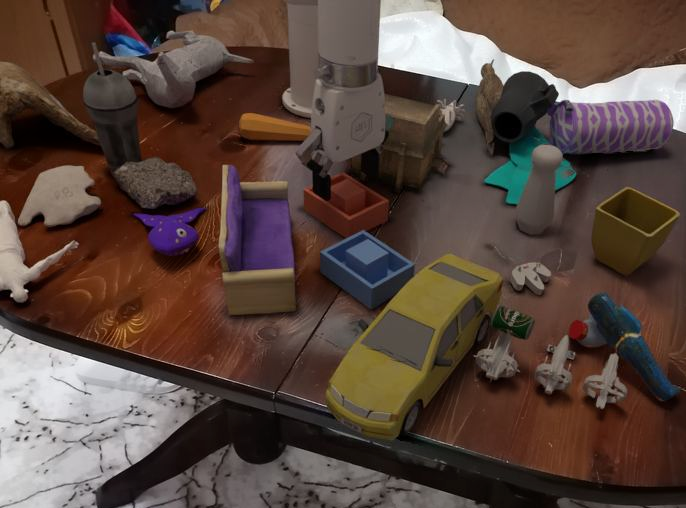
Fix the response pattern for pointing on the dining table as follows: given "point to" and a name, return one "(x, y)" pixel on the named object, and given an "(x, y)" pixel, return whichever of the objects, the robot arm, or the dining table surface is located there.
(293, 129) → the carrot
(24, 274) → the figurine
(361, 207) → the red block
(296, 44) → the robot arm
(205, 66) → the statue
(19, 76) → the rock
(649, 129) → the pencil case
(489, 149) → the bird model
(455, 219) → the dining table surface
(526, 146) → the cloth
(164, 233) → the toy
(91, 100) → the beverage cup
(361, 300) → the blue bin
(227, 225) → the toy sofa
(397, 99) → the wooden crate
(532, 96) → the mug
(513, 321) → the beer can
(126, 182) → the stone
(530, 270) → the game controller
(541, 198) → the salt shaker
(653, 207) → the flower pot
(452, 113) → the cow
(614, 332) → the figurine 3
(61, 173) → the decorative object
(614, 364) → the toy vehicles
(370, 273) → the blue block
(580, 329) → the red capped bottle
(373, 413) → the toy car
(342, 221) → the red bin
